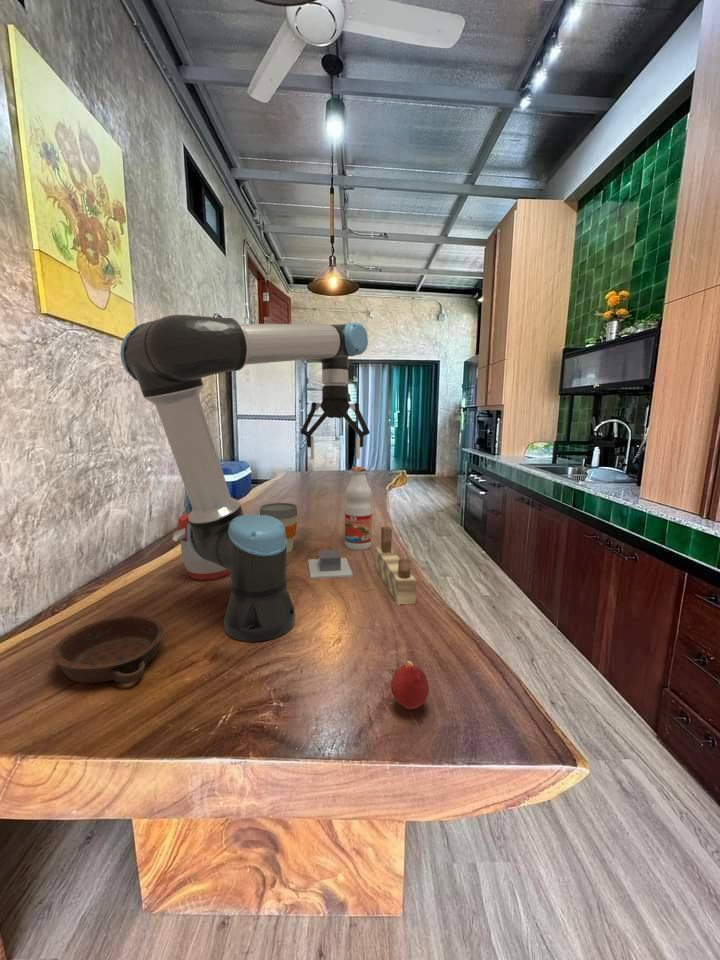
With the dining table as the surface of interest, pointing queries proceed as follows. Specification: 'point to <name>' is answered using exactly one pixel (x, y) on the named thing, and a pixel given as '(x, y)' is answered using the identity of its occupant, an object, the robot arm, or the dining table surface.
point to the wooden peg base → (395, 570)
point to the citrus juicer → (196, 555)
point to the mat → (317, 574)
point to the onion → (410, 686)
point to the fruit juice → (358, 511)
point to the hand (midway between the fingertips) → (335, 458)
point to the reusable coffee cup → (283, 519)
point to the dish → (110, 649)
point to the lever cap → (329, 560)
